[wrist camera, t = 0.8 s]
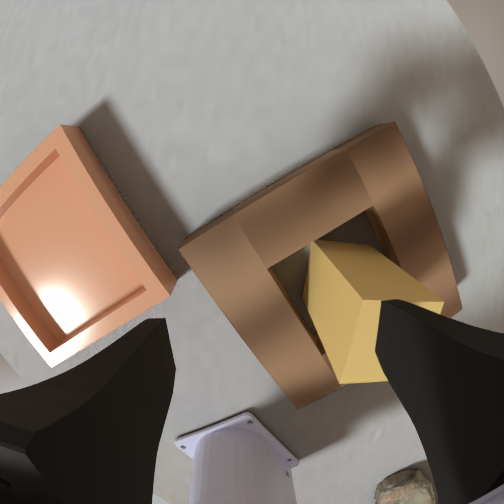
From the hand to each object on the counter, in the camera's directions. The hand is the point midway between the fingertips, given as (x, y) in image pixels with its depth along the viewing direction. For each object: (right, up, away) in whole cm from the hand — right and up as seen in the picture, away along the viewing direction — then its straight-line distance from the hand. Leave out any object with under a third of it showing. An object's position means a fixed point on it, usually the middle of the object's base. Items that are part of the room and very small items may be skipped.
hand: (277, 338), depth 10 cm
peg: (+5, +2, +11) cm, 12 cm away
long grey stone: (+24, -38, +24) cm, 51 cm away
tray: (-14, +3, +9) cm, 17 cm away
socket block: (+5, +2, +10) cm, 12 cm away
